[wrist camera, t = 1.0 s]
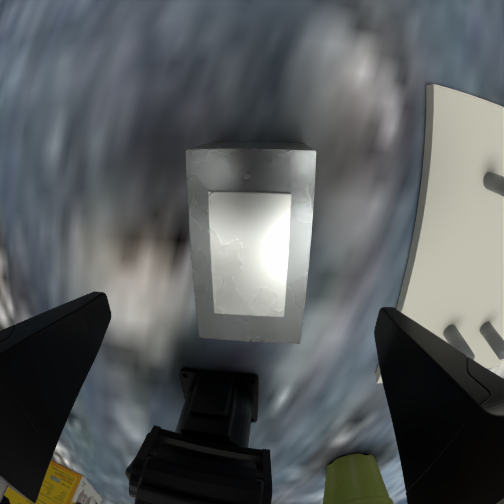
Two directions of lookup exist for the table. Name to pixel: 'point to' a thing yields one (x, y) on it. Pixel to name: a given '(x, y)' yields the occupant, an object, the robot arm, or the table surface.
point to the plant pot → (355, 481)
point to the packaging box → (60, 489)
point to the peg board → (459, 228)
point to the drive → (250, 237)
